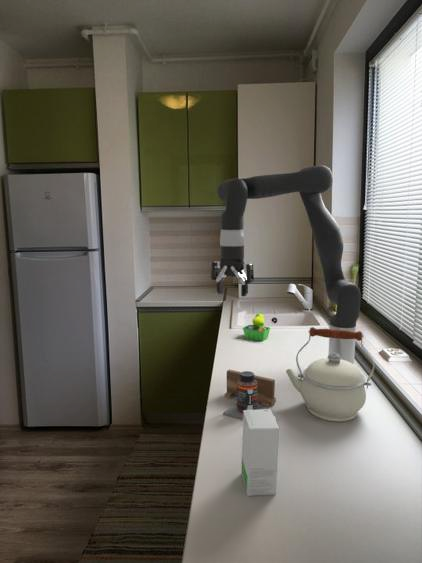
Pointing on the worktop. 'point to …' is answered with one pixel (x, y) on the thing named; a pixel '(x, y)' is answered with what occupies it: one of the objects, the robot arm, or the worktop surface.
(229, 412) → the mat
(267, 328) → the fruit basket
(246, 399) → the supplement bottle
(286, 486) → the worktop surface
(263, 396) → the wooden panel
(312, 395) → the kettle
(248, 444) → the skincare box
